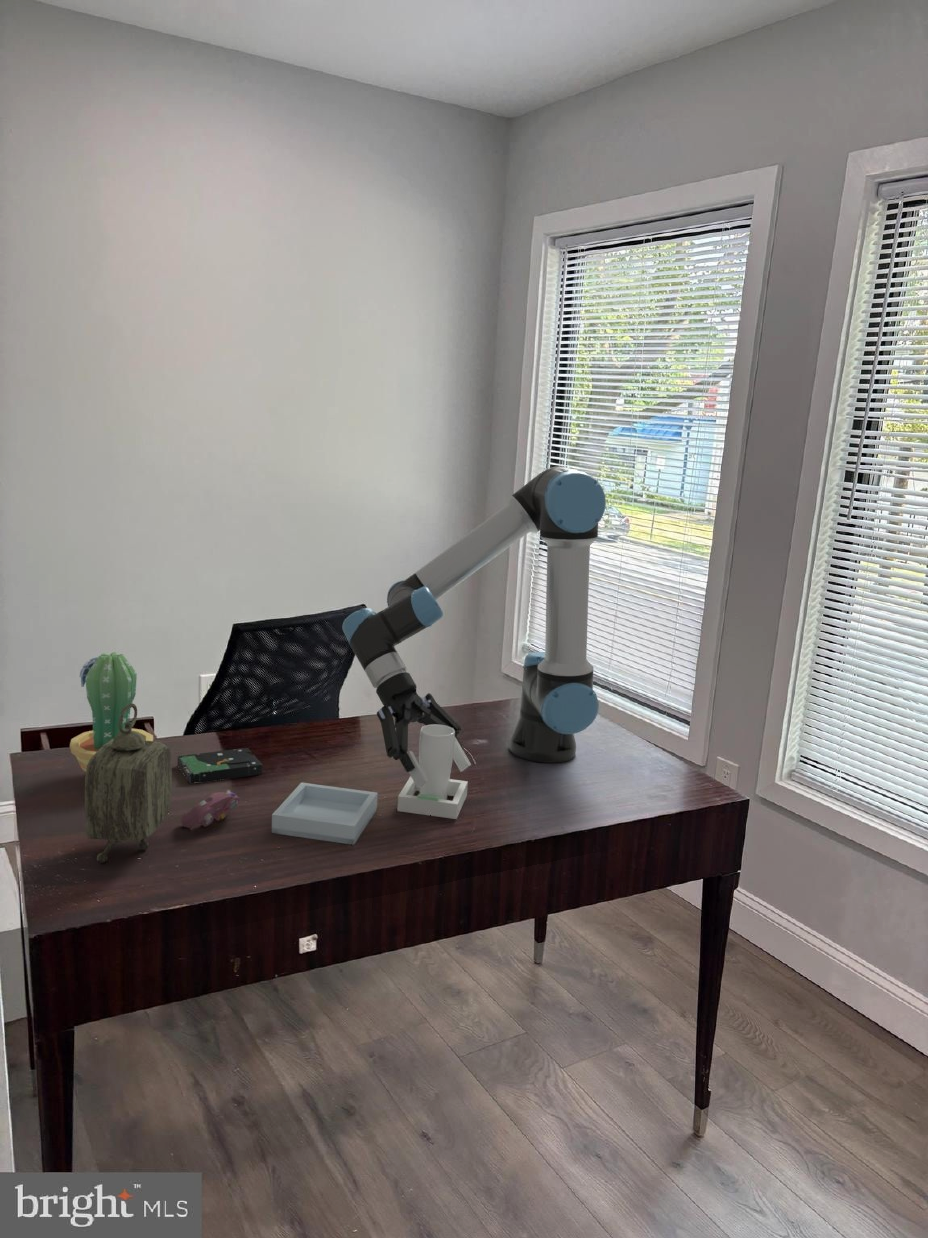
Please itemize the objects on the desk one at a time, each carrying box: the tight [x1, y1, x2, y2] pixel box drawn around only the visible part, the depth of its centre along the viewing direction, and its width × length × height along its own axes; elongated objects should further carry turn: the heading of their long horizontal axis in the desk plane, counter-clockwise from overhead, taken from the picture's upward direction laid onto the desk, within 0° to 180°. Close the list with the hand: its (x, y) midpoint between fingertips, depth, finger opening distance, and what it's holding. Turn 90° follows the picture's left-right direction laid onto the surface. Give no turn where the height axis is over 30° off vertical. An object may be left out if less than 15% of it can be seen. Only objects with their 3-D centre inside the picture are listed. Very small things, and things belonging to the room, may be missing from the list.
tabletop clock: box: [84, 702, 172, 864], centre depth 151 cm, size 14×9×25 cm, turn 178°
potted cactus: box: [69, 652, 154, 774], centre depth 177 cm, size 15×15×25 cm
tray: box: [271, 782, 379, 846], centre depth 168 cm, size 15×15×4 cm
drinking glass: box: [418, 724, 455, 800], centre depth 178 cm, size 7×7×15 cm
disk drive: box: [177, 747, 263, 784], centre depth 188 cm, size 10×3×15 cm
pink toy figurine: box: [180, 789, 240, 829], centre depth 164 cm, size 10×5×7 cm, turn 148°
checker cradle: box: [396, 775, 469, 820], centre depth 179 cm, size 11×11×4 cm
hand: (445, 776), depth 176 cm, fingers open, 12 cm apart
